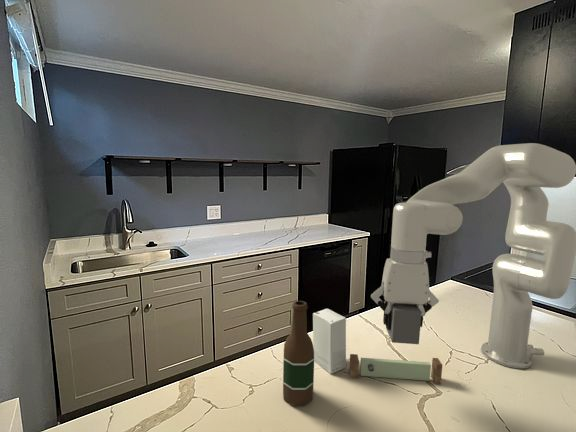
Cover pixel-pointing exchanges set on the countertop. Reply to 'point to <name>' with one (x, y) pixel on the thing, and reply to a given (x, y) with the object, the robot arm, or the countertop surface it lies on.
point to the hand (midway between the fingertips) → (402, 327)
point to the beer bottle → (298, 360)
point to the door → (395, 369)
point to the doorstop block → (405, 324)
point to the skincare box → (329, 340)
